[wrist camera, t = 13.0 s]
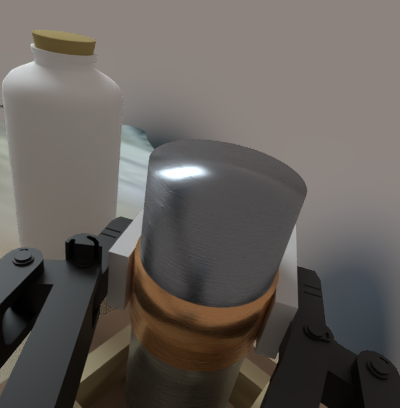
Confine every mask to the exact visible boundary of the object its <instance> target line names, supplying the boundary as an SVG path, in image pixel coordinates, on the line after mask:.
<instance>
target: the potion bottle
mask: <svg viewBox="0 0 400 408" xmlns="http://www.w3.org/2000/svg"><path fill="white" fill-rule="evenodd" d="M32 36H33V39H34V43H33V44H31V50H32V54H33V55H34V61H33V62H30V63H27V64H25V65H22V66H19V67H17V68H15V69H13V70H11V71H10V72H9V73H8V75H7V76H6V77H5V79H4V80H3V83H2V97H3V105H4V114H5V122H6V131H7V140H8V148H9V157H10V165H11V174H12V182H13V191H14V200H15V208H16V217H17V225H18V234H19V241H20V243H21V246H22V248H24V247H30V248H35V249H38V250H40V251H41V252H42V254H43V259H49V260H66V259H65V241H66V240H67V239H68V238H69V237H71V236H73V235H76V234H81V233H88V234H93V235H96V236H98V235H99V234H100V233H101V232H102V230H103V229H105V227H106V226H107V225H108V224H109V223H110V222H111V221H112V220H114V219H116V208H117V192H118V176H119V160H120V144H121V127H122V110H123V97H122V92H121V90H120V88H119V86H118V85H117V83H115V82H114V81H113V80H112V79H111V78H109V77H108V76H106V75H105V74H103V73H101V72H100V71H98V70H97V69H95V67H94V63H96V60H97V53H96V52H94V48H95V43H96V41H95V40H94V39H92V38H89V37H86V36H82V35H78V34H73V33H68V32H61V31H53V30H33V31H32Z"/></svg>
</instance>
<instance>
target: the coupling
mask: <svg viewBox="0 0 400 408" xmlns="http://www.w3.org/2000/svg"><path fill="white" fill-rule="evenodd" d="M306 194H307V187H306V185H305V182H304V181H303V179H302V178H301V177H300V176H299V174H298V173H296V172H295V171H294V170H293V169H292V168H290V167H289V166H288V165H286V164H284V163H283V162H281V161H279V160H277V159H275V158H273V157H271V156H269V155H267V154H264V153H262V152H259V151H257V150H254V149H250V148H247V147H244V146H240V145H236V144H231V143H226V142H220V141H211V140H180V141H174V142H170V143H166V144H164V145H161V146H159V147H158V148H156V149H155V150H154V151H153V152H152V153H151V155H150V158H149V165H148V174H147V184H146V193H145V203H144V212H143V222H142V231H141V236H140V237H139V239H138V241H137V244H136V248H135V257H134V267H133V277H132V288H131V298H130V308H129V317H130V323H131V335H130V345H129V354H128V363H127V373H126V382H125V403H126V407H127V408H226V406H227V403H228V400H229V398H230V395H231V392H232V390H233V387H234V384H235V382H236V379H237V377H238V374H239V371H240V369H241V366H242V363H243V361H244V358H245V356H246V355H247V354H248V353H249V351H250V350H251V348H252V347H253V345H254V343H255V340H256V338H257V335H258V333H259V330H260V328H261V325H262V322H263V320H264V317H265V315H266V312H267V310H268V307H269V304H270V302H271V299H272V297H273V294H274V292H275V289H276V286H277V284H278V279H279V266H280V263H281V261H282V258H283V255H284V253H285V250H286V247H287V245H288V242H289V240H290V237H291V234H292V232H293V229H294V226H295V224H296V221H297V218H298V216H299V213H300V210H301V208H302V205H303V203H304V200H305V197H306Z"/></svg>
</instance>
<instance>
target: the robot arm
mask: <svg viewBox="0 0 400 408" xmlns="http://www.w3.org/2000/svg"><path fill="white" fill-rule="evenodd" d="M143 212H144V208H143V209H142V210H141V211H140V213H139V214H138V215H137V216H136V218H135V219H134V220H131V219H127V218H124V217H118V218H116V219H114V220H112V221H111V222H110V223H109V224H108V225H107V226H106V227H105V229H103V230H102V232H101V233H100V234H99V235H98V236H96V235H93V234H88V233H81V234H76V235H73V236H71V237H69V238H68V239H67V240H66V241H65V259H66V260H49V259H43V254H42V252H41V251H40V250H38V249H35V248H30V247H24V248H18V249H15V250H12V251H11V252H9V253H7V254H6V255H5V256H4V257H2V258H1V259H0V368H1V367H2V366H3V365H4V364H5V362H6V361H7V360H8V359H9V357H10V356H11V355H12V354H13V352H14V351H15V350H16V349H17V347H18V346H19V345H20V344H21V342H22V341H23V340H24V339H25V337H26V336H27V335H28V334H29V333H30V331H31V330H32V331H31V333H30V335H29V337H28V339H27V341H26V343H25V346H24V348H23V350H22V352H21V354H20V356H19V358H18V360H17V362H16V364H15V366H14V369H13V371H12V373H11V375H10V377H9V379H8V381H7V383H6V385H5V387H4V390H3V392H2V394H1V396H0V408H73V406H74V403H75V399H76V396H77V392H78V389H79V385H80V382H81V378H82V374H83V371H84V367H85V364H86V360H87V357H88V353H89V350H90V346H91V343H92V339H93V336H94V332H95V329H96V325H97V322H98V318H99V315H100V304H101V303H102V301H103V300H104V298H105V297H106V305H107V306H110V307H113V308H116V309H119V310H123V311H124V310H125V308H126V306H127V304H128V303H129V301H130V298H131V288H132V277H133V267H134V257H135V248H136V244H137V241H138V239H139V237H140V236H141V231H142V222H143ZM278 351H279V361H278V363H277V365H276V367H275V370H274V372H273V374H272V376H271V378H270V380H269V385H268V388H267V390H266V393H265V395H264V398H263V400H262V403H261V406H260V408H319V406H320V403H322V404H323V405H325V406H326V407H328V408H400V375H399V373H398V371H397V369H396V367H395V366H394V365H393V364H392V363H391V362H390V361H389V360H388V359H387V358H385V357H384V356H382V355H380V354H379V353H376V352H373V351H368V350H366V351H362V352H360V354H359V355H356V354H354V353H353V352H351V351H349V350H347V349H346V348H344V347H343V346H341V345H340V344H338V343H337V342H336V341H335V340H334V336H333V334H332V332H331V330H330V329H329V328H328V327H327V326H326V323H325V314H324V306H323V299H322V291H321V281H320V279H319V277H318V276H317V274H316V273H315V271H312V270H309V269H305V268H302V267H298V266H297V251H296V224H295V226H294V229H293V232H292V234H291V237H290V240H289V242H288V245H287V247H286V250H285V253H284V255H283V258H282V261H281V263H280V266H279V279H278V284H277V286H276V289H275V292H274V294H273V297H272V299H271V302H270V304H269V307H268V310H267V312H266V315H265V317H264V320H263V322H262V325H261V328H260V330H259V333H258V335H257V339H256V348H255V353H257V354H260V355H263V356H266V357H269V358H272V359H275V358H276V356H277V354H278Z"/></svg>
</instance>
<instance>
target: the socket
mask: <svg viewBox="0 0 400 408" xmlns="http://www.w3.org/2000/svg"><path fill="white" fill-rule="evenodd" d="M129 308H130V301H129V303H128V304H127V306H126V308H125V310H124V311H123V310H119V309H116V308H114V309H113V310H111V311H110V312H108V313H107V314H105V315H104V316H102V317H101V318H99V319H98V322H97V325H96V329H95V332H94V336H93V339H92V343H91V346H90V350H89V353H88V357H87V360H86V364H85V367H84V371H83V374H82V378H81V382H80V385H79V389H78V392H77V396H76V399H75V403H74V406H73V408H127V407H126V403H125V382H126V373H127V363H128V354H129V345H130V335H131V323H130V317H129ZM276 365H277V364H276V363H275V362H273V361H272V360H271V359H269V358H268V357H266V356H263V355H260V354H257V353H255V347H252V348H251V350H250V351H249V353H248V354H247V355H246V356H245V358H244V361H243V363H242V366H241V369H240V371H239V374H238V377H237V379H236V382H235V384H234V387H233V390H232V392H231V395H230V398H229V400H228V403H227V406H226V408H260V406H261V403H262V400H263V398H264V395H265V393H266V390H267V388H268V385H269V380H270V378H271V376H272V374H273V372H274V370H275V367H276ZM8 379H9V378H8ZM8 379H7V380H5V381H4V382H2V383H1V384H0V396H1V394H2V392H3V390H4V387H5V385H6V383H7V381H8ZM319 408H328V407H326V406H325V405H323V404H322V403H320V406H319Z"/></svg>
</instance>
